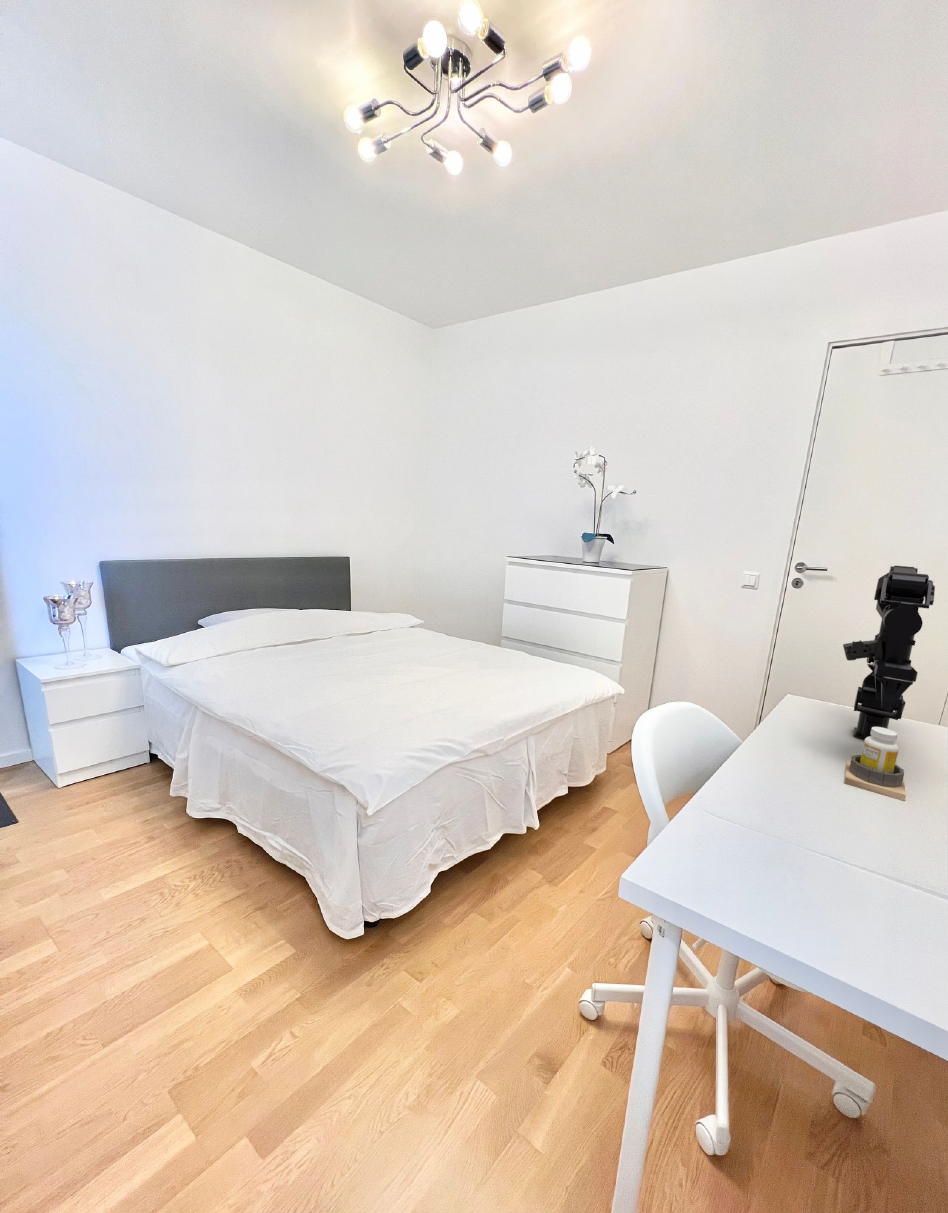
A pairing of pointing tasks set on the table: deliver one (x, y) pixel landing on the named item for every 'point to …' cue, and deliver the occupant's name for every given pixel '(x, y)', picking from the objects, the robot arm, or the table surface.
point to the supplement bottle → (880, 750)
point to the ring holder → (875, 779)
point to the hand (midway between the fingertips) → (882, 704)
